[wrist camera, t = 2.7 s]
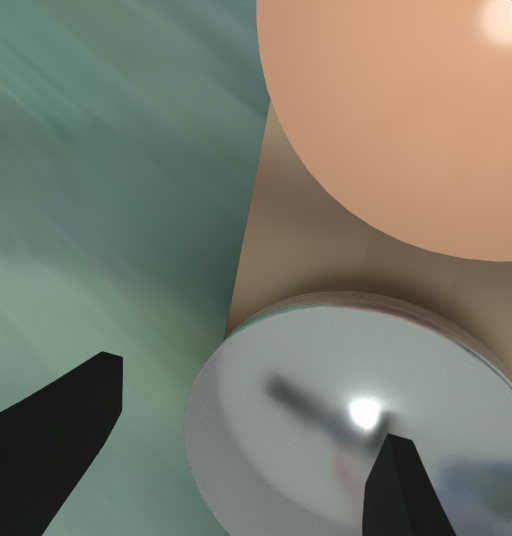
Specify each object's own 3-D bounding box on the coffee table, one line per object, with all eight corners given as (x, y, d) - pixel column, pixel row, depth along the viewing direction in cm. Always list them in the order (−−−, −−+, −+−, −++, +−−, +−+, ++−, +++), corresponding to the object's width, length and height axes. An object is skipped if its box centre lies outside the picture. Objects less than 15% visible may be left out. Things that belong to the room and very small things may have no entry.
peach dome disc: (614, 263, 13) (701, 327, 9) (271, 173, 16) (220, 192, 12) (889, -231, 9) (1283, -522, 5) (357, -239, 11) (323, -431, 7)
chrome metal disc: (454, 548, 18) (465, 671, 14) (215, 443, 21) (166, 521, 17) (581, 320, 14) (649, 403, 10) (260, 225, 16) (209, 259, 12)
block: (453, 515, 21) (458, 573, 18) (225, 419, 24) (201, 457, 21) (836, -204, 11) (973, -309, 8) (361, -217, 14) (347, -298, 11)
